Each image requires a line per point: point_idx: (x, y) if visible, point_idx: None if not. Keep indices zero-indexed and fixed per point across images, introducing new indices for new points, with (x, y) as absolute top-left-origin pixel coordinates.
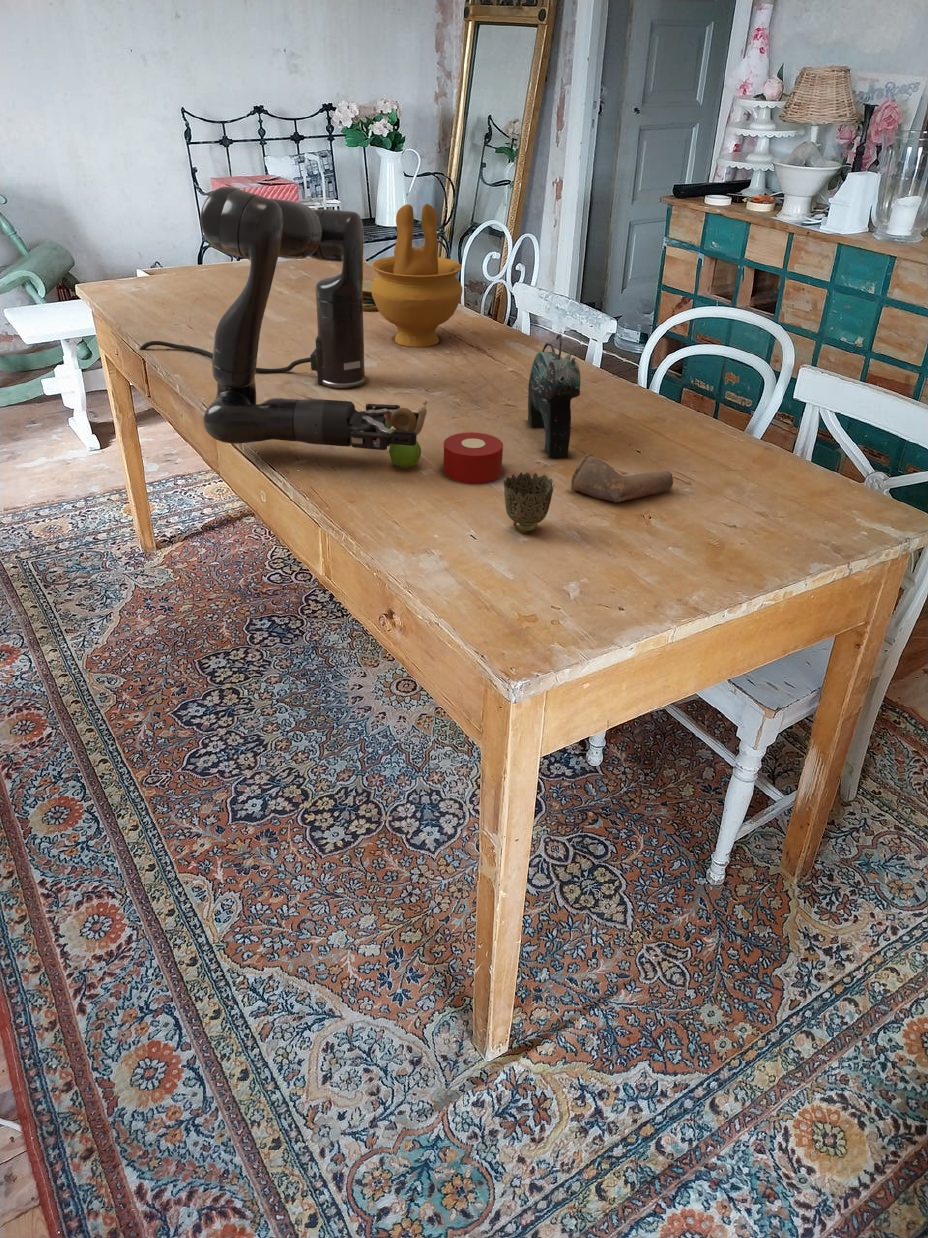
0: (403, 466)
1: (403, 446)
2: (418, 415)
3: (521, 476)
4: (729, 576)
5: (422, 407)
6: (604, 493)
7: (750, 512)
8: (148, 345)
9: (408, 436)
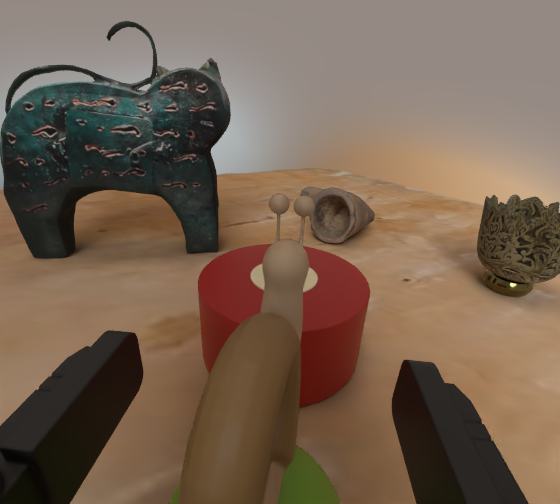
0: None
1: None
2: (120, 353)
3: (503, 215)
4: (462, 207)
5: (290, 241)
6: (368, 219)
7: None
8: None
9: (467, 402)
